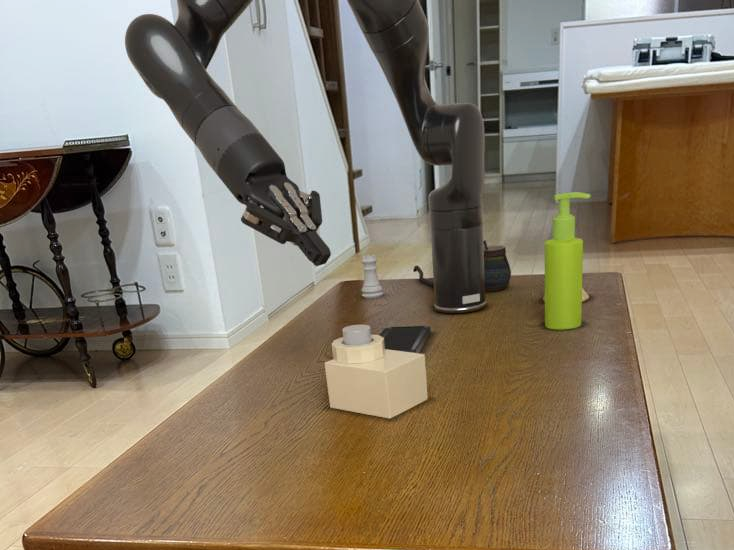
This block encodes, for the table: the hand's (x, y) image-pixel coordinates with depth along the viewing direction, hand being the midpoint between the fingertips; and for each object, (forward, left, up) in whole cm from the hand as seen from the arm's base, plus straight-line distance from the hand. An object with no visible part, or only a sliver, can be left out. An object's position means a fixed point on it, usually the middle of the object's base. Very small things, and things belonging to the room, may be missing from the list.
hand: (324, 260), depth 103 cm
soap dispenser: (-13, +43, -18) cm, 49 cm away
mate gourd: (-46, +47, -18) cm, 68 cm away
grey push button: (+4, +2, -10) cm, 11 cm away
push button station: (+6, +3, -18) cm, 19 cm away
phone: (-19, +16, -18) cm, 30 cm away
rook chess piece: (-58, +26, -18) cm, 66 cm away
